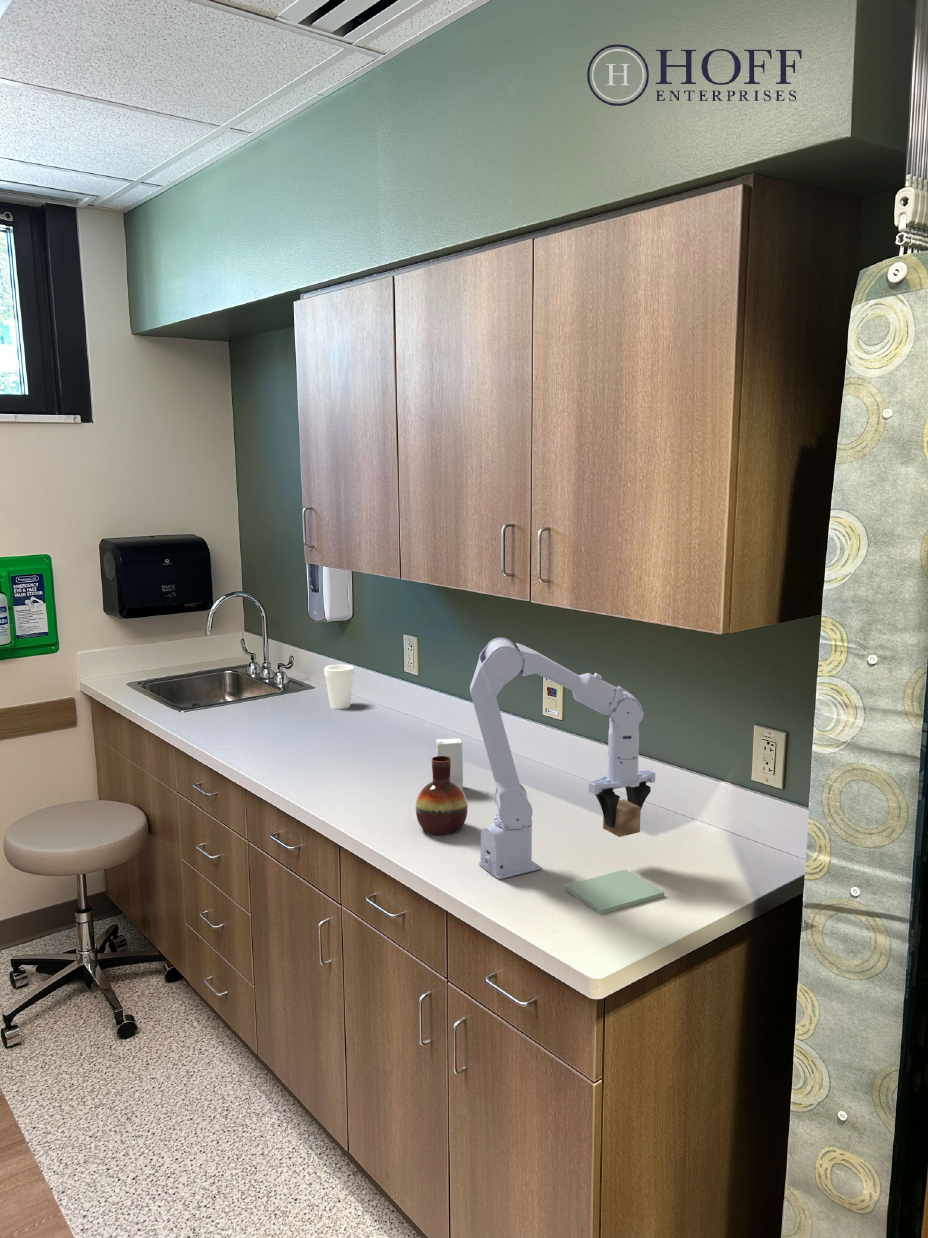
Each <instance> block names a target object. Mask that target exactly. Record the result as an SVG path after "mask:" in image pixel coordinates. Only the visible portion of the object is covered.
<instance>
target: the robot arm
mask: <svg viewBox="0 0 928 1238" xmlns="http://www.w3.org/2000/svg"><path fill="white" fill-rule="evenodd" d="M516 646H517V647H518V648H517V647H516ZM519 674H521V676H522V677H527V676H531V675H538V676H541V677H542V678H545V679H547V680H548V681H550V682H553V683H555V684H557V685H559V686H562V687H563V688H566V689H568V690H570V691H571V692H572V697H573V699H574V701H577V702H579V703H580V704H582V705H584V706H586V707H587V708H590V709H591V710H594V711H596V712H597V713H599V714H602V715H604V716H609V722H608V723H609V727H608V737H607V738H608V744H607V745H608V746H607V747H608V748H607V751H608V752H607V774H606V775H604V776H601V777H599V778H597V779H595V780H592V781H591V780H590V781H589V782H588V792H589V793H590V794H592V795H595V797H596V799H597V801H598V802H599V805H600V809H601V811H602V815H604V820H605V825H607V826H609V827H611V828H613V827H615V822H616V809H617V805H618V801H619V800H621V799H620V798H621V796H620V795H618V794H616V793H615V791H614V790H617V789H623V788H625V792H626V800H627V801H629V802H631V803H633V804H635V805H637V806H639V807H641V810H642V808H643V806H644V803H645V801H646V799H647V798H648V796H649V795H650V793H651V786H650V785H647V784H648V783H650V784H652V783H656V772H654V771H652V770H649V769H647V770H640V771H639V755H640V753H639V750H640V749H639V748H640V731H639V727H640V723H641V722H642V720H643V719H644V715H645V712H644V711H643V708H642V707H643V706H642V704H641V702H640V701H639V700H638V699H637V698H636V697H635V696H634V695H633V694H632V693H630V692H629V691H628V690H627V689H624V688H623V687H621V686H620V685H617V686H614V685H613V684H611V683H609V682H607V681H605V680H603V679H602V678H603V676H601V674H598V673H597V672H594V674H592V673H590V672H587V673H583V674H577V673H575V672H573V671H572V670H570V669H568V668H566V667H564V666H563V665H561V664H559V663H557V662H556V661H554V660H552V659H551V658H549V657H547V656H545V655H544V654H542V653H540V652H538V651H536V650H534V649H532V648H530V647H527V646H526V645H524V644H521V643H517V642H516V643H514V642H513V641H512V640H510V639H509V638H506V637H496V638H493V639H492V640H490V641H489V642H488V643H487V644H486V645H485V646H484V648H483V649H482V650H481V652H480V653H479V656H478V660H477V663H476V667H475V670H474V674H473V677H472V680H471V682H470V685H469V692H470V697H471V699H472V703H473V707H474V712H475V715H476V718H477V721H478V725H479V728H480V733H481V737H482V741H483V743H484V747H485V751H486V755H487V757H488V761H489V765H490V769H491V772H492V777H493V778H494V779H493V780H494V783H495V793H494V801H495V804H496V806H497V810H498V812H497V813H496V815H495V817H493V818H494V819H493V822H492V823H491V824H490V825H488V826H486V827H484V828H483V829H482V830H481V832H480V861H479V862H478V865H479V866H480V867H481V868H483V869H484V870H485V871H487V872H489V873H490V874H491V875H493V876H494V877H495V878H497V879H499V880H502V879H505V878H510V877H514V876H519V875H522V874H523V875H524V874H527V873H530V872H533V871H537V870H540V869H541V865H539V864H538V863H536V862H535V861H533V860H532V856H533V854H532V851H533V848H532V847H533V845H532V844H533V840H532V839H533V838H532V836H533V835H532V832H533V829H532V828H533V823H532V822H533V819H532V818H533V817H532V816H533V807H532V805H531V802H529V799H528V793H527V791H526V788H525V787H524V786H523V785H522V784H521V783H520V780H519V776H518V773H517V772H518V771H517V769H516V765H515V762H514V757H513V754H512V751H511V747H510V744H509V740H508V737H507V732H506V730H505V725H504V721H503V717H502V714H501V710H500V706H499V703H498V699H497V696H498V695H499V693H500V692H501V691H502V689H503V687H504V686H505V685H506V684H507V683H509V682H510V681H511V680H513V679H514V678H515V677H517V676H518V675H519Z"/></svg>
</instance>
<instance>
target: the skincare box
mask: <svg viewBox="0 0 928 1238" xmlns="http://www.w3.org/2000/svg"><path fill="white" fill-rule="evenodd" d="M435 741H436V743H435V745H436V756H447V757H450V758H451V768H450V781H451V782H453V783H455V784H456V785H457V786H459V787H460V788H461V790H462V791H463V792H464V776H463V775H464V773H463V771H464V770H463V769H464V767H463V764H464V763H463V743H462V740H461V738H438V739H436V740H435Z"/></svg>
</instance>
